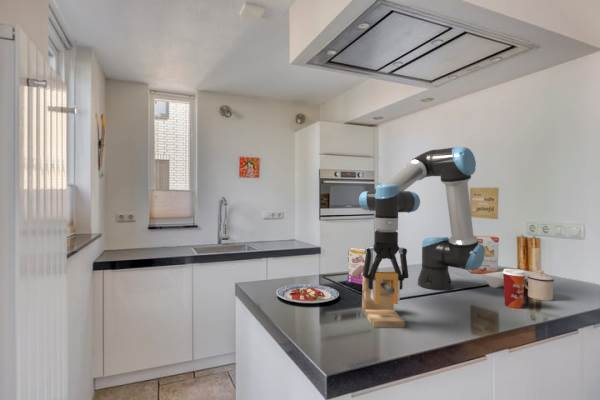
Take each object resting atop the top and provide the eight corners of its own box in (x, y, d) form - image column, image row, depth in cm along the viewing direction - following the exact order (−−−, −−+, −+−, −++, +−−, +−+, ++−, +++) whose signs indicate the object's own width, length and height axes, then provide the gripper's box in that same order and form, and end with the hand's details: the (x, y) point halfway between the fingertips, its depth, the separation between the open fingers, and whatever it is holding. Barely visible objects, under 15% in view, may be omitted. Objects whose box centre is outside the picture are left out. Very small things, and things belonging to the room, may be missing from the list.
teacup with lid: (558, 300, 137) (559, 272, 137) (543, 302, 134) (543, 273, 134) (530, 292, 148) (531, 266, 148) (515, 293, 145) (516, 267, 145)
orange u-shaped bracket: (372, 300, 111) (373, 271, 111) (394, 300, 111) (395, 271, 111) (375, 303, 108) (375, 273, 108) (397, 303, 108) (398, 273, 108)
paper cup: (517, 310, 123) (518, 273, 123) (497, 304, 130) (498, 269, 130) (529, 307, 127) (530, 271, 127) (509, 301, 133) (509, 267, 133)
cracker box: (471, 273, 184) (472, 236, 184) (467, 271, 190) (468, 235, 190) (498, 274, 182) (499, 237, 182) (493, 272, 188) (494, 236, 188)
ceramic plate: (267, 292, 142) (268, 285, 142) (320, 286, 153) (320, 280, 153) (290, 311, 119) (290, 303, 119) (350, 303, 129) (351, 295, 129)
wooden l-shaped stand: (361, 310, 120) (362, 272, 120) (388, 310, 121) (389, 272, 121) (374, 329, 103) (375, 284, 103) (406, 329, 104) (407, 285, 103)
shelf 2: (541, 284, 164) (542, 273, 164) (505, 291, 150) (505, 279, 150) (517, 279, 174) (518, 269, 174) (481, 284, 161) (481, 274, 161)
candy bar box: (347, 282, 160) (347, 248, 160) (351, 280, 164) (351, 247, 164) (369, 286, 154) (369, 251, 154) (372, 284, 158) (373, 250, 158)
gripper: (358, 231, 105) (357, 302, 105) (420, 232, 106) (419, 302, 106) (353, 229, 113) (352, 295, 113) (411, 229, 114) (410, 295, 114)
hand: (384, 298), depth 110 cm, fingers closed on orange u-shaped bracket, 7 cm apart
